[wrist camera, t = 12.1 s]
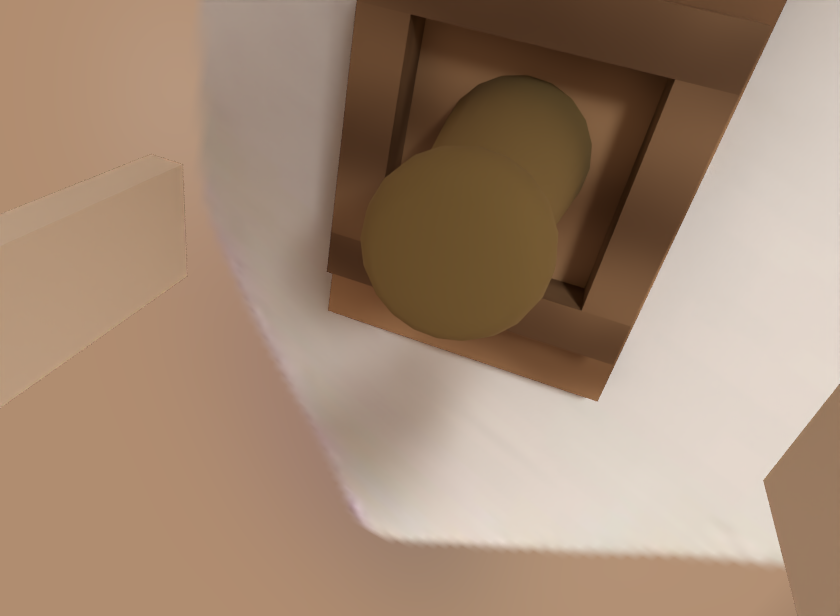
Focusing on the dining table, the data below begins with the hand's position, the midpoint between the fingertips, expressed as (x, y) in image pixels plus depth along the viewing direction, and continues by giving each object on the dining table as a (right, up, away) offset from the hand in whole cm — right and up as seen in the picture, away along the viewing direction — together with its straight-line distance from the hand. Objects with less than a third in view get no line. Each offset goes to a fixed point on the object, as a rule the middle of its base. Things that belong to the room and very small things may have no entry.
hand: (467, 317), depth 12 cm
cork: (+3, +6, +12) cm, 14 cm away
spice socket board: (+3, +7, +12) cm, 14 cm away
